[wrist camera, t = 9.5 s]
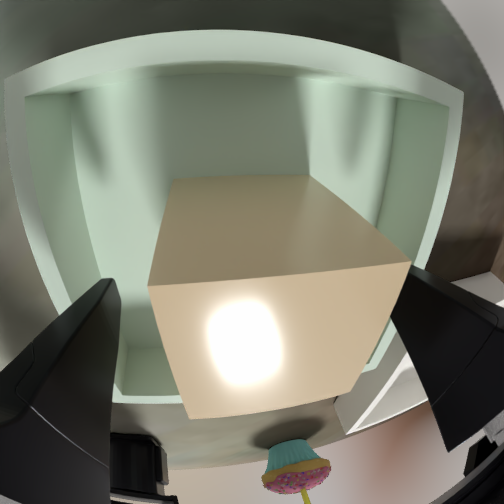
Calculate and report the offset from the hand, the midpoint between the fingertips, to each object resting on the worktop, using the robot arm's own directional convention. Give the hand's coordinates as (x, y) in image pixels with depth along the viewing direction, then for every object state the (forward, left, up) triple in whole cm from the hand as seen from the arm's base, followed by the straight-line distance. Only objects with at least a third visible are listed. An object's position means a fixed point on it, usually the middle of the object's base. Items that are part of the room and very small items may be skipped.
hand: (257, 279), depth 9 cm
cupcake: (+6, -30, -4) cm, 31 cm away
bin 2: (+16, -12, -3) cm, 20 cm away
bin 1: (0, 0, -3) cm, 3 cm away
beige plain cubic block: (0, 0, -3) cm, 3 cm away
